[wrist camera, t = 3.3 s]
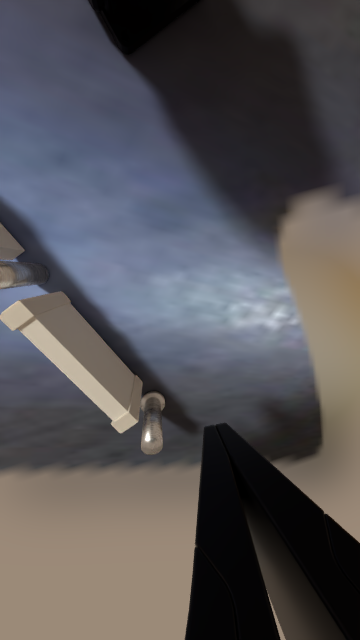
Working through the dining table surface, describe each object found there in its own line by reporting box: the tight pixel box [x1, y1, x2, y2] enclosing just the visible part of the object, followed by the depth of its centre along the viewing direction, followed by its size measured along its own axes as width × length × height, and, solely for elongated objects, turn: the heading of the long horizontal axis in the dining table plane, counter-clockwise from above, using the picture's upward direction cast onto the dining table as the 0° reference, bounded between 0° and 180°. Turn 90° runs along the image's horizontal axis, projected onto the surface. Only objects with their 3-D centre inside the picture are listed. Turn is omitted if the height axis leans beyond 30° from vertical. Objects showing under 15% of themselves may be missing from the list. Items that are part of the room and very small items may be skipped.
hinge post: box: [0, 261, 49, 289], centre depth 12 cm, size 2×2×5 cm
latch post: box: [140, 391, 165, 455], centre depth 16 cm, size 2×2×5 cm
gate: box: [0, 291, 143, 434], centre depth 14 cm, size 10×2×5 cm, turn 34°
